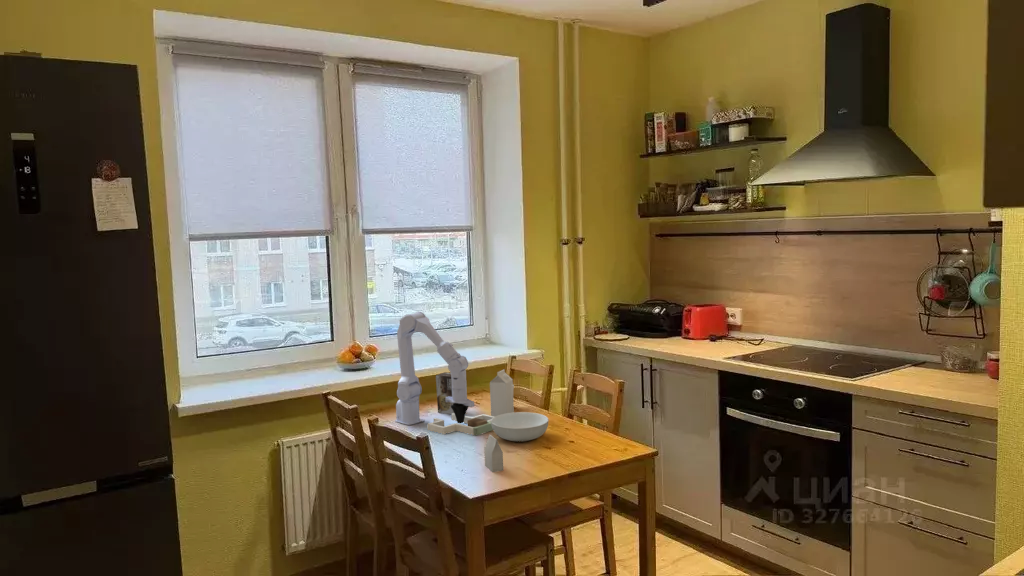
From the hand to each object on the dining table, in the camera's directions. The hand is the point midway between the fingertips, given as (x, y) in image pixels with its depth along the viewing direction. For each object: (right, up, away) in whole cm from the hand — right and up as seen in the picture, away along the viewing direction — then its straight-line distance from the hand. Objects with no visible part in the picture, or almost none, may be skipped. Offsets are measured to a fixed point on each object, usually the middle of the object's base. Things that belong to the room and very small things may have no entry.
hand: (460, 422), depth 274 cm
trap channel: (+2, -2, -1) cm, 2 cm away
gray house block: (+14, -5, -50) cm, 52 cm away
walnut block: (+7, -2, -6) cm, 10 cm away
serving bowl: (+23, -2, -18) cm, 29 cm away
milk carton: (+16, 0, +11) cm, 19 cm away
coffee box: (-6, 0, +23) cm, 23 cm away
